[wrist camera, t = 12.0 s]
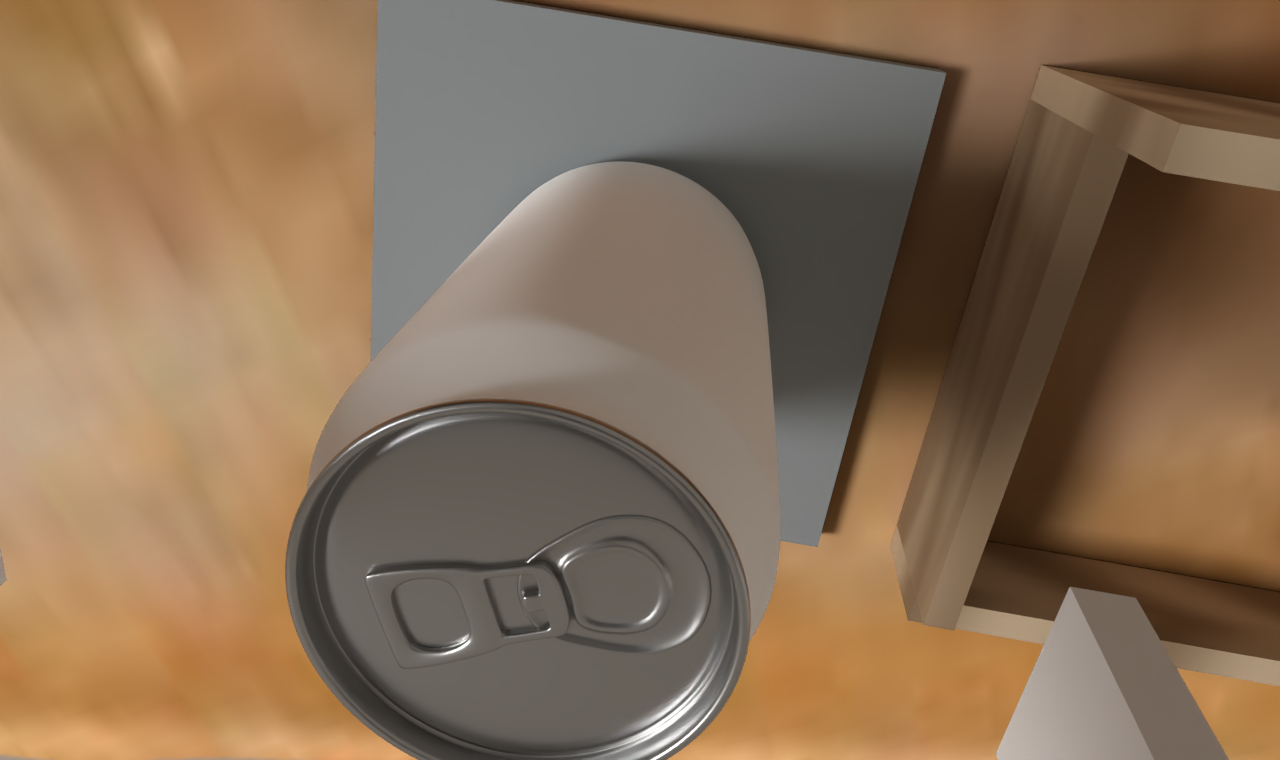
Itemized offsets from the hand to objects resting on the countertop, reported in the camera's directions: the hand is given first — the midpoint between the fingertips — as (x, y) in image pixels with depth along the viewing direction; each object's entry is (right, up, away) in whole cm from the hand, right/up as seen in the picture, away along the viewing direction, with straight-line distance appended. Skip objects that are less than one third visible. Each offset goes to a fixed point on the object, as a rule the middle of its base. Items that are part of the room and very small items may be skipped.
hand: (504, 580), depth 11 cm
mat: (+1, +5, +11) cm, 12 cm away
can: (+1, +5, +11) cm, 12 cm away
